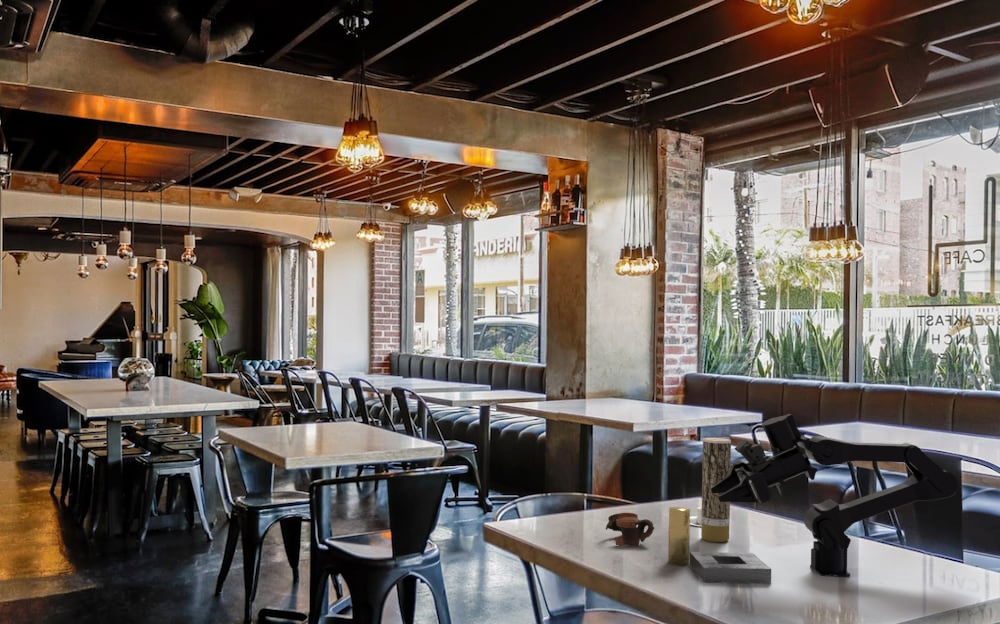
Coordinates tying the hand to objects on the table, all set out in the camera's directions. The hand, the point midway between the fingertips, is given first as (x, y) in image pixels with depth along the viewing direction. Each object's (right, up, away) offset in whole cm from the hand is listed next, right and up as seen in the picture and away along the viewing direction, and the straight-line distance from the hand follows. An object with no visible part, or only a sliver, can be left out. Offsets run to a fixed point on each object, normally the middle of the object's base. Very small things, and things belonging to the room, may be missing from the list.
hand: (715, 495), depth 181 cm
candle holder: (+8, -17, +42) cm, 46 cm away
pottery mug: (-16, -16, +19) cm, 30 cm away
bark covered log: (+6, -17, +24) cm, 30 cm away
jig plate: (+2, -16, -5) cm, 17 cm away
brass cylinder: (-8, -16, +2) cm, 18 cm away
